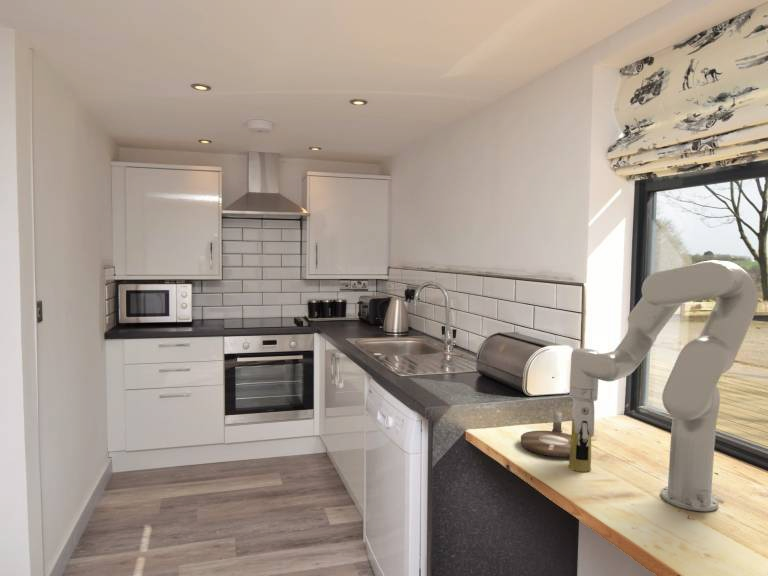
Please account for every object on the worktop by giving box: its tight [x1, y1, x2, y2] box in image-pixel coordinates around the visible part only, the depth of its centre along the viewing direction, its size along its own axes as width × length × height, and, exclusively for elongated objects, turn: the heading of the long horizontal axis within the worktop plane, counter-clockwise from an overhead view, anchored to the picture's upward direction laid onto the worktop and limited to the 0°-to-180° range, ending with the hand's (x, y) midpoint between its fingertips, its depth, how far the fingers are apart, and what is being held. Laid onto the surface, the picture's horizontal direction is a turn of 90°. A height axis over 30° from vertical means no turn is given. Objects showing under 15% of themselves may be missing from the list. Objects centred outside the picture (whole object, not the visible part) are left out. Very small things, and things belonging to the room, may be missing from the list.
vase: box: [568, 418, 592, 473], centre depth 158 cm, size 6×6×14 cm
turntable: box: [520, 411, 571, 458], centre depth 175 cm, size 23×20×8 cm
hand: (580, 455), depth 158 cm, fingers closed on vase, 5 cm apart
